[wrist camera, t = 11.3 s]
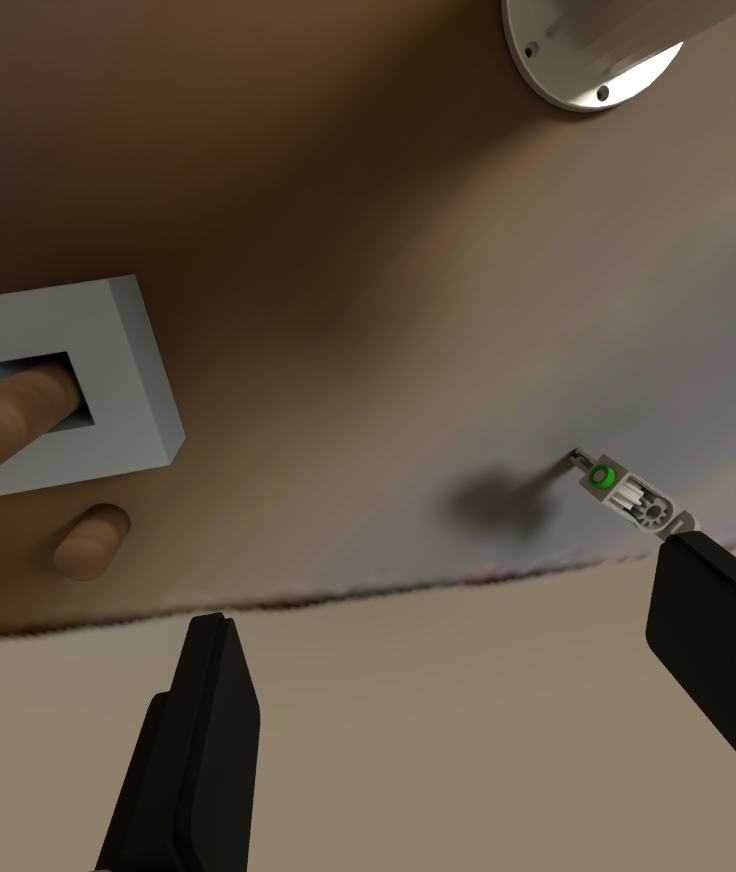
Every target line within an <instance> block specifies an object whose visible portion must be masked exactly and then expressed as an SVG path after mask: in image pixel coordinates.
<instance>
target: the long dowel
mask: <svg viewBox="0 0 736 872" xmlns="http://www.w3.org/2000/svg"><path fill="white" fill-rule="evenodd" d="M85 403H87V402H86V399H85V397H84V394H83V392H82V389H81V386H80V384H79V381H78V379H77V376H76V374H75V371H74V368H73V366H72V363H71V361H70V358H69V356H68V353H67V352H65V353H62V354H60V355H58V356H56V357H53V358H51V359H49V360H47V361H44V362H42V363H40V364H38V365H35V366H33V367H31V368H29V369H26V370H24V371H22V372H19V373H17V374H15V375H13V376H10V377H8V378H6V379H4V380H1V381H0V465H1V464H2V463H4V462H5V461H7V460H8V459H9V458H11V457H12V456H13V455H15V454H16V453H18V452H19V451H20V450H22V449H23V448H25V447H26V446H27V445H29V444H30V443H31V442H33V441H34V440H36V439H37V438H38V437H40V436H41V435H42V434H44V433H45V432H47V431H48V430H49V429H51V428H52V427H53V426H55V425H56V424H58V423H59V422H60V421H62V420H63V419H65V418H66V417H67V416H69V415H70V414H71V413H73V412H74V411H76V410H77V409H78V408H80V407H81V406H82V405H84V404H85Z"/></svg>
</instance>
